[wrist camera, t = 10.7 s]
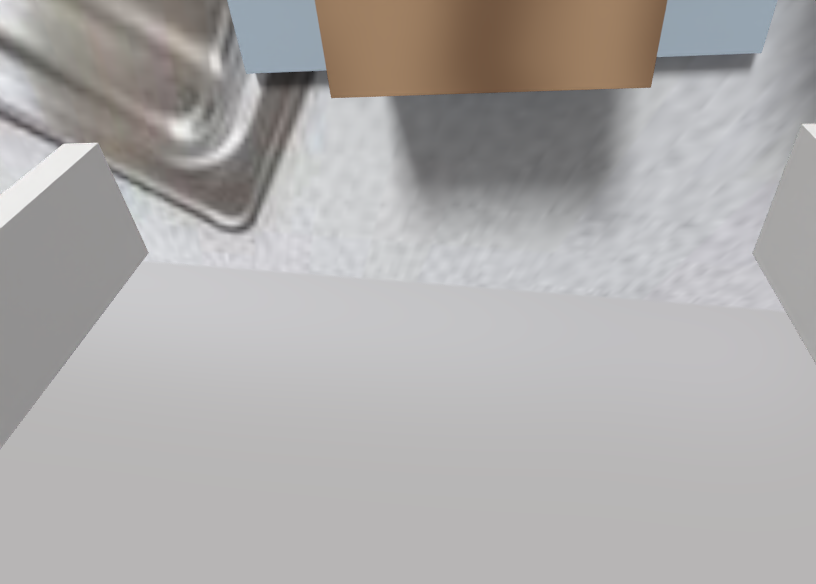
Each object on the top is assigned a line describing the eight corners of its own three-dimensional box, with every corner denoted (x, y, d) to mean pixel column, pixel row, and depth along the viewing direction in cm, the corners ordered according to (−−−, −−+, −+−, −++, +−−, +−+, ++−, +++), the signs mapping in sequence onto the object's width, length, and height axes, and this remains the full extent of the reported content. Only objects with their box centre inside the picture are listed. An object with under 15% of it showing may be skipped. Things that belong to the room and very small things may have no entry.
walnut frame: (369, 34, 27) (332, 102, 21) (358, -56, 25) (313, -9, 19) (614, 22, 25) (650, 91, 19) (627, -76, 23) (673, -31, 17)
